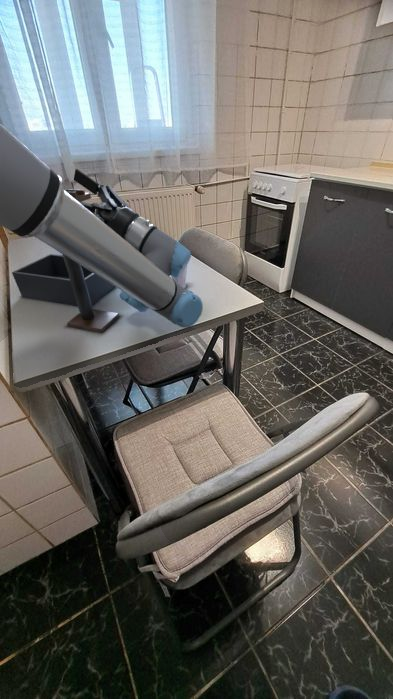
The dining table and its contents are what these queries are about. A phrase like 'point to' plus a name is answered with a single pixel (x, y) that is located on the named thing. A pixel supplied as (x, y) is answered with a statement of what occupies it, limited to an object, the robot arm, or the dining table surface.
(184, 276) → the smoothie
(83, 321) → the stand
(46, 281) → the bin
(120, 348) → the dining table surface
